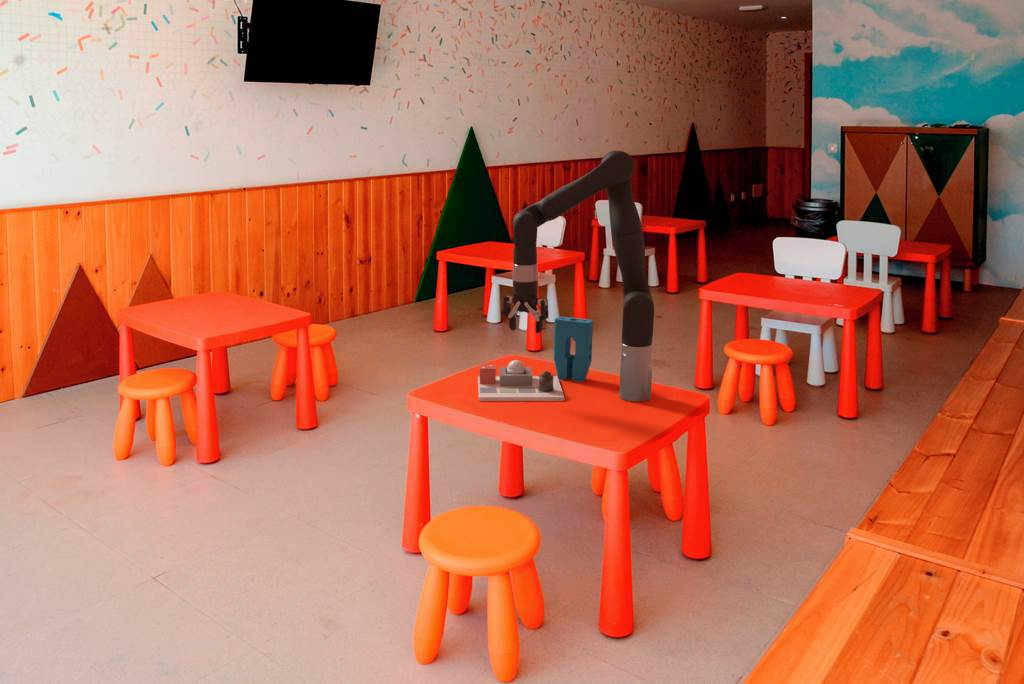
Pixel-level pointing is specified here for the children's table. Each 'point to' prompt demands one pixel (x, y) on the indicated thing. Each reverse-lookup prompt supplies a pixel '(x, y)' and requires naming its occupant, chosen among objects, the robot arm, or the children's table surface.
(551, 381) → the pawn
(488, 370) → the die
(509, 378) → the dome housing
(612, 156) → the robot arm
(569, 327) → the block
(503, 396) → the game board
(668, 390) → the children's table surface
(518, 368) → the dome
